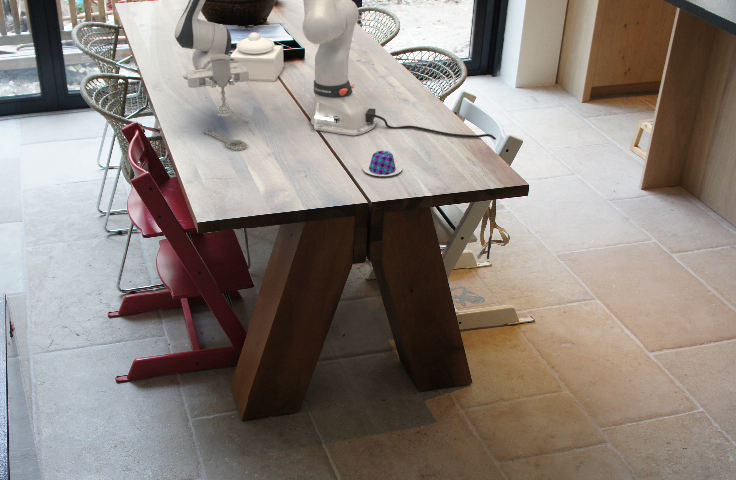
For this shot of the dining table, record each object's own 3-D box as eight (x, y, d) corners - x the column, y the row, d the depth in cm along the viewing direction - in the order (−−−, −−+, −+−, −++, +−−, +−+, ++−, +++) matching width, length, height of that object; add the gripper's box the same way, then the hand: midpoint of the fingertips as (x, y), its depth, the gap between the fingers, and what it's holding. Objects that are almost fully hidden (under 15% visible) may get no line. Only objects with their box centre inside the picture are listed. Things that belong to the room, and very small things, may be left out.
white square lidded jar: (283, 67, 341) (282, 26, 332) (274, 81, 327) (273, 39, 318) (241, 65, 344) (239, 25, 335) (230, 80, 329) (227, 38, 320)
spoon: (200, 133, 283) (200, 131, 283) (213, 129, 286) (213, 127, 285) (236, 151, 270) (235, 149, 269) (249, 147, 272) (249, 144, 272)
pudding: (410, 169, 256) (411, 152, 253) (386, 181, 249) (386, 165, 246) (378, 159, 263) (379, 143, 260) (354, 171, 255) (354, 155, 252)
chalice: (215, 109, 279) (211, 54, 269) (236, 109, 279) (232, 54, 268) (212, 117, 273) (208, 61, 263) (233, 117, 273) (230, 61, 262)
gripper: (181, 65, 276) (190, 77, 265) (241, 58, 281) (252, 70, 270) (183, 84, 279) (192, 97, 269) (242, 77, 285) (253, 89, 274)
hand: (223, 83), depth 269 cm, fingers closed on chalice, 5 cm apart
